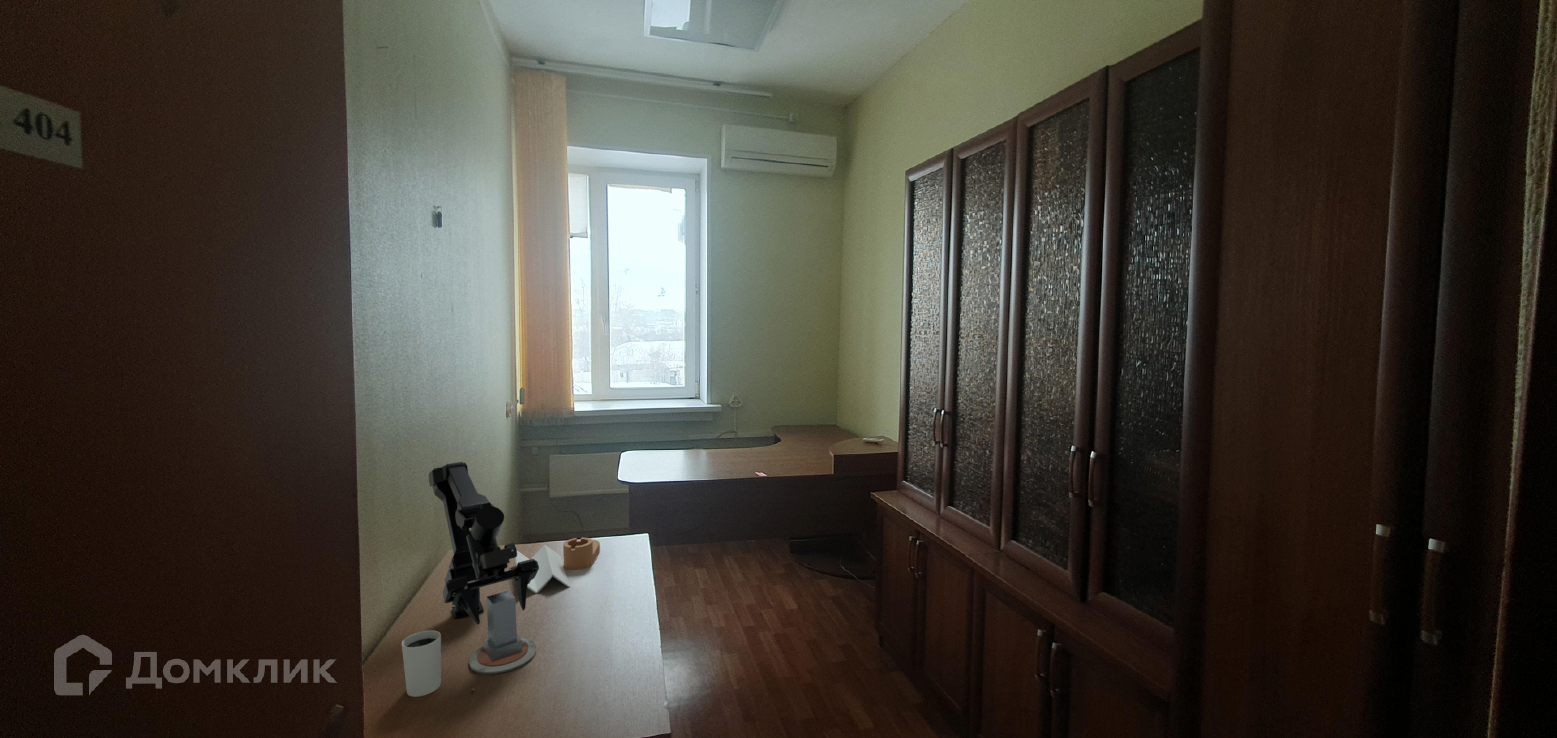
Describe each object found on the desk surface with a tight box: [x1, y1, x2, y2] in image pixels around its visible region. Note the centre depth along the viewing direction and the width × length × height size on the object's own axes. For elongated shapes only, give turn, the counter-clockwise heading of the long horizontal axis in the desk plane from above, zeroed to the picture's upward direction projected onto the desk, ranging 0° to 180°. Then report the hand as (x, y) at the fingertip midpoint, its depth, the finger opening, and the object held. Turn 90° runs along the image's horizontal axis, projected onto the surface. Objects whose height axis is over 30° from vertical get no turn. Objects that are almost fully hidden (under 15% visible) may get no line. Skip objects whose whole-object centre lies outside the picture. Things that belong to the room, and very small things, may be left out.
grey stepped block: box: [483, 590, 522, 662], centre depth 129 cm, size 6×6×12 cm
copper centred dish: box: [468, 637, 537, 675], centre depth 130 cm, size 13×13×1 cm
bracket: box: [562, 537, 601, 571], centre depth 184 cm, size 18×8×7 cm, turn 5°
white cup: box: [401, 629, 442, 698], centre depth 118 cm, size 7×7×10 cm
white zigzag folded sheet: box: [514, 544, 571, 594], centre depth 172 cm, size 12×25×6 cm
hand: (501, 616), depth 129 cm, fingers open, 9 cm apart
